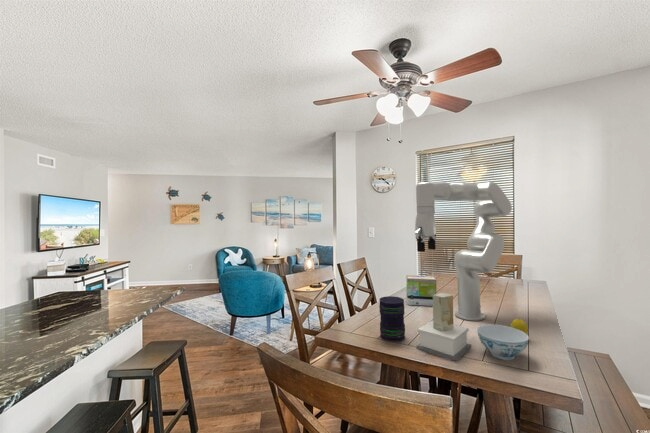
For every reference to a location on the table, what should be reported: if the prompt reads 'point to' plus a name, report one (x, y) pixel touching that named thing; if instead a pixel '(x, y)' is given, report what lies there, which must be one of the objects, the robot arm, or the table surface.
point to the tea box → (420, 290)
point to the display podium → (444, 341)
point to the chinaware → (503, 340)
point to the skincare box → (443, 311)
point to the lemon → (519, 325)
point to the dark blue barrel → (392, 319)
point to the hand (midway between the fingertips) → (426, 250)
